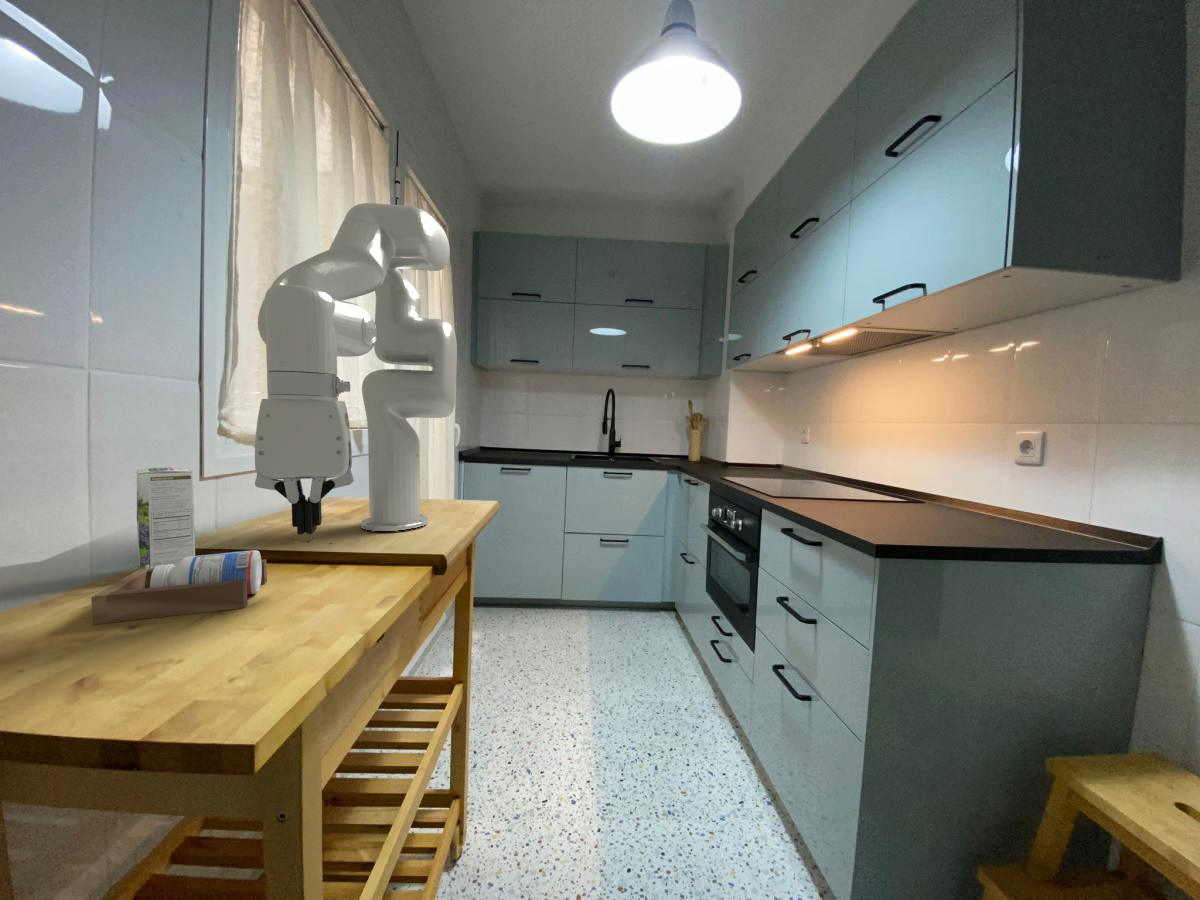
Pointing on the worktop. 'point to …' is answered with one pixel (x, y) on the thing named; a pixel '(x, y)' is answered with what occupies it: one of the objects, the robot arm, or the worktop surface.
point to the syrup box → (165, 516)
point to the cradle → (166, 598)
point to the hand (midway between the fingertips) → (307, 531)
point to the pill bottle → (211, 570)
